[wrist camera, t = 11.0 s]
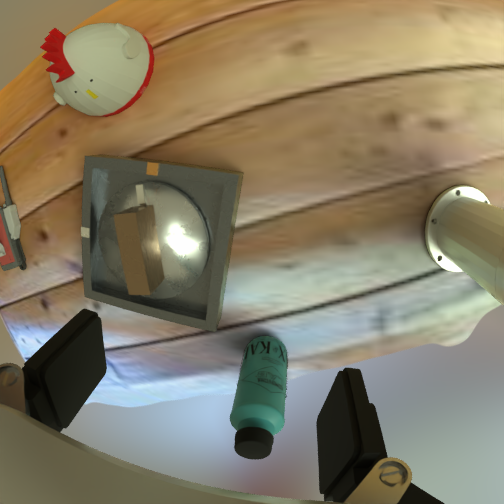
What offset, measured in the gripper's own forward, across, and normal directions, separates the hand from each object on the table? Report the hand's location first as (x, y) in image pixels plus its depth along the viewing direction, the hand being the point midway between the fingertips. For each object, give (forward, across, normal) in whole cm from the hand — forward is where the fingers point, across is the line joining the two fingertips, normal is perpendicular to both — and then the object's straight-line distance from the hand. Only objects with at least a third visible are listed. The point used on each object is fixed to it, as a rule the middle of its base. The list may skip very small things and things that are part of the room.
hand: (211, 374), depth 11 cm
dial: (+28, +14, +6) cm, 32 cm away
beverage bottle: (+31, -4, +20) cm, 37 cm away
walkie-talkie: (+31, +48, +9) cm, 57 cm away
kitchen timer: (+31, +25, -17) cm, 43 cm away
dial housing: (+30, +14, +6) cm, 34 cm away
